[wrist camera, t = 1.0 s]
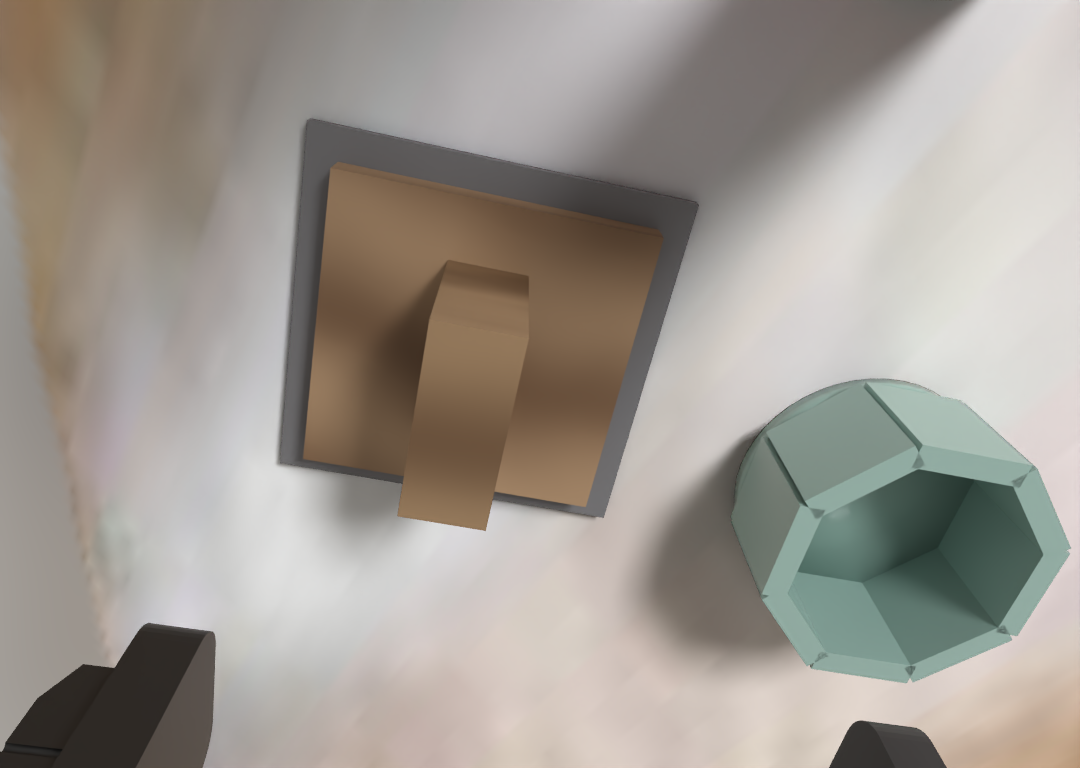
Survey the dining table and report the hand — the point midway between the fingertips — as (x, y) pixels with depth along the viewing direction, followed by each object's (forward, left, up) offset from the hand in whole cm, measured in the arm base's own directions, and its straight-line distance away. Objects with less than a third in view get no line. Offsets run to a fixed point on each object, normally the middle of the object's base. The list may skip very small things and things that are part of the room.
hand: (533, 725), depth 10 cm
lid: (+2, -1, -17) cm, 17 cm away
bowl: (+5, +14, -17) cm, 23 cm away
